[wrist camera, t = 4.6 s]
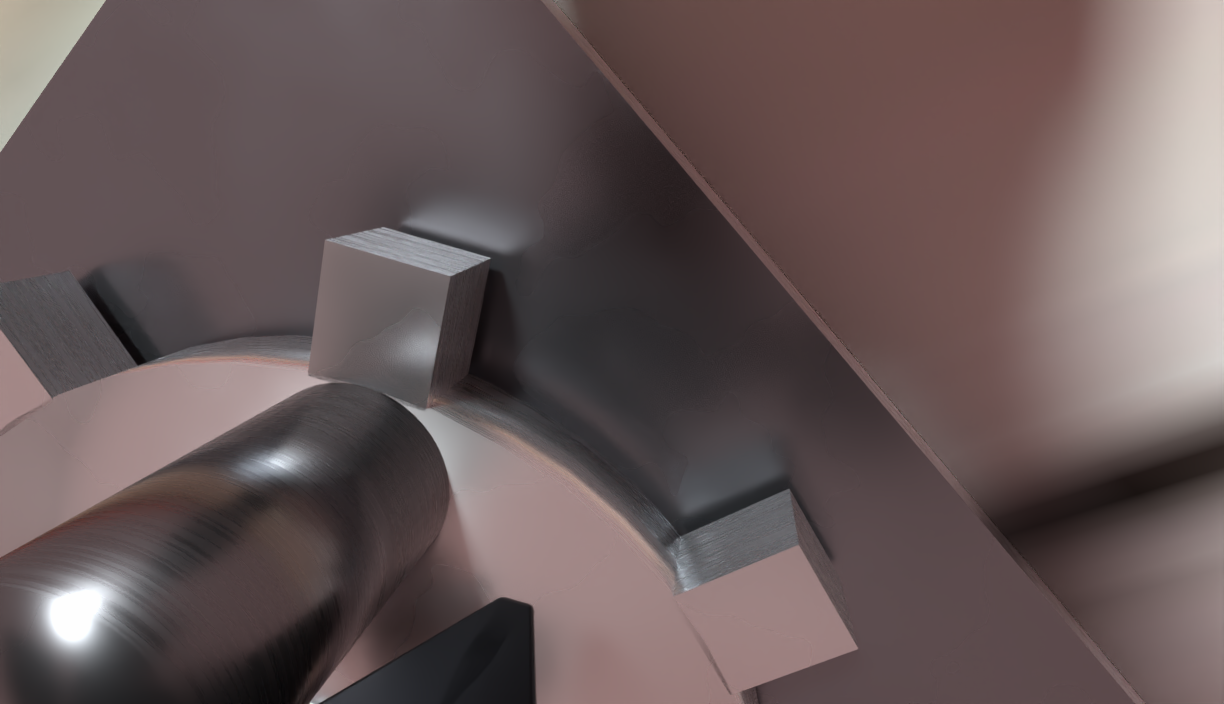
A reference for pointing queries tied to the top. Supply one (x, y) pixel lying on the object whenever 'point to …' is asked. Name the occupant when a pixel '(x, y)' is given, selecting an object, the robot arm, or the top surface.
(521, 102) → the index base
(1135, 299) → the top surface
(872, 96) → the top surface
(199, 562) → the sprocket
